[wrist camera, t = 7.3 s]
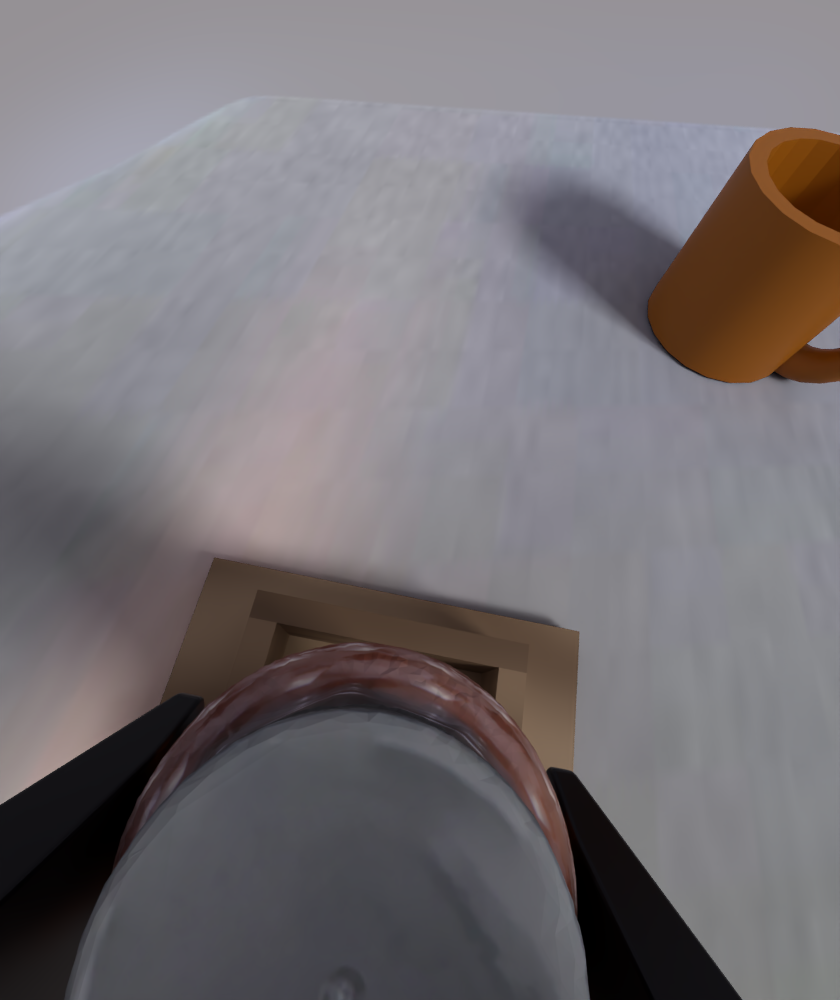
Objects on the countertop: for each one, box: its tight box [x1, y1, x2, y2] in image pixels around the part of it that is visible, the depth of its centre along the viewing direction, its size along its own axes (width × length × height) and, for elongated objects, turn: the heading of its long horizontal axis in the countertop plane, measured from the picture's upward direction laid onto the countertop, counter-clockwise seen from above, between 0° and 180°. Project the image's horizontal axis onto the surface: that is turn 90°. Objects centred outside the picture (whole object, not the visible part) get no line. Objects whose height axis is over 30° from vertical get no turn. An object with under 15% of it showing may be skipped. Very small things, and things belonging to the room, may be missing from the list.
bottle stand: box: [160, 558, 579, 772], centre depth 17 cm, size 13×16×4 cm
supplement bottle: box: [64, 642, 590, 1000], centre depth 9 cm, size 6×6×11 cm
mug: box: [648, 127, 840, 383], centre depth 26 cm, size 9×12×9 cm
